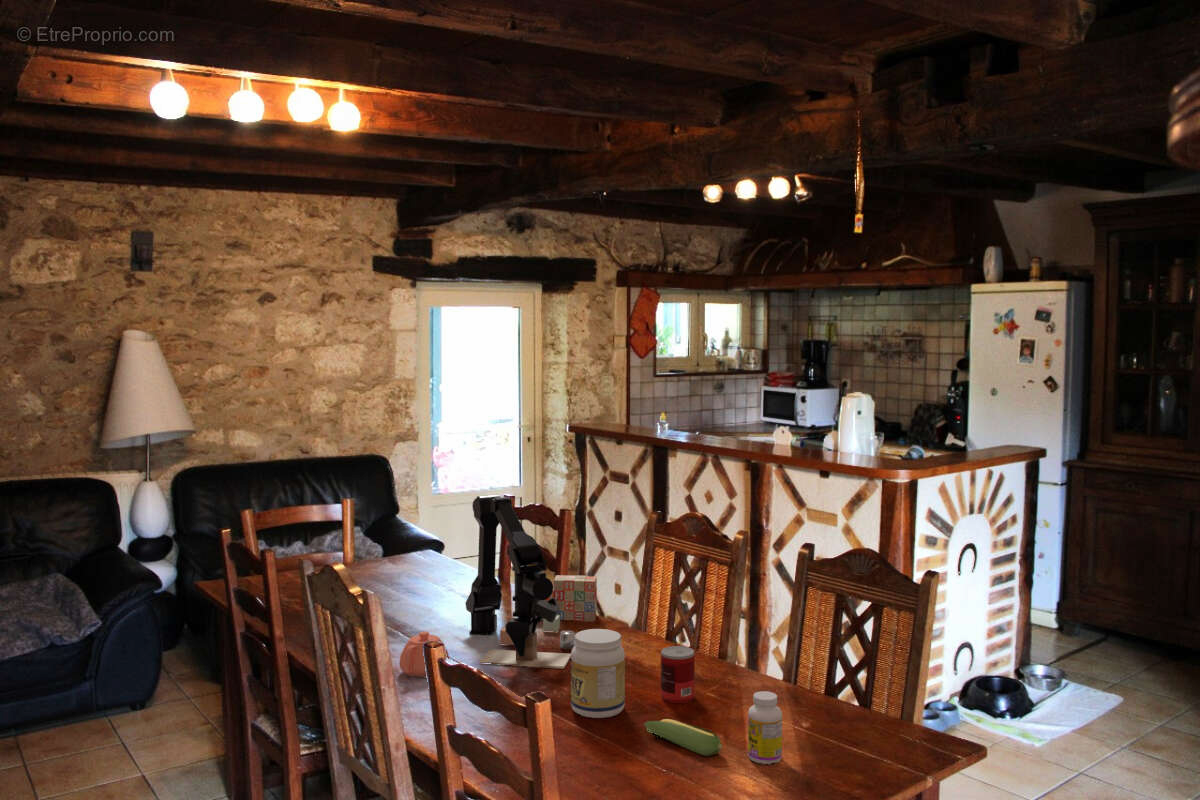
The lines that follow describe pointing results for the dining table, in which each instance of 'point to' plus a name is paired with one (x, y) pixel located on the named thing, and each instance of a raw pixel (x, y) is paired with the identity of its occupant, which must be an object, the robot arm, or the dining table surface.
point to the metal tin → (567, 639)
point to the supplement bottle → (765, 729)
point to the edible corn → (686, 736)
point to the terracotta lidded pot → (416, 654)
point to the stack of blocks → (575, 597)
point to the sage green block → (552, 624)
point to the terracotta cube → (505, 637)
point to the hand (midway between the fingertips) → (526, 650)
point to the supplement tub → (597, 673)
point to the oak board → (540, 661)
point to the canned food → (677, 674)
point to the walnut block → (529, 648)
